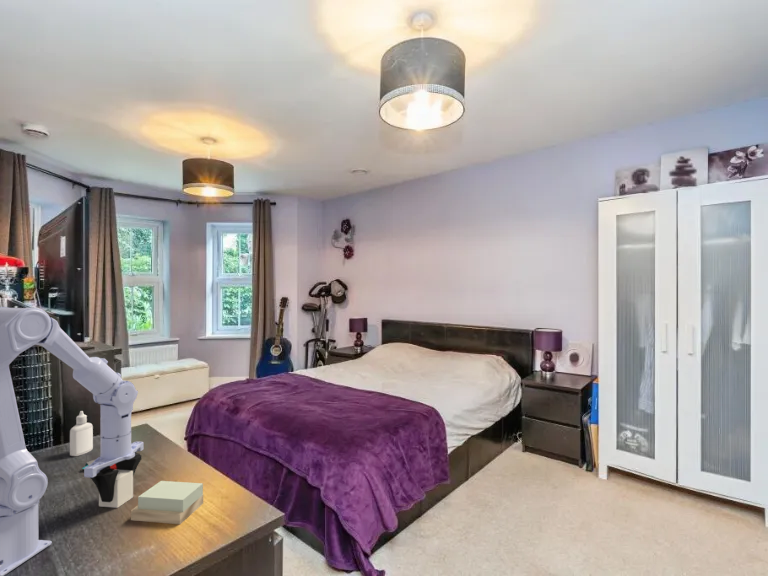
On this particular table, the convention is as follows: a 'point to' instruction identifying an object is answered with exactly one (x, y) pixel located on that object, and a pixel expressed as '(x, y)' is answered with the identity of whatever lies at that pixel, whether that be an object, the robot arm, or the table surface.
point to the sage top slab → (170, 496)
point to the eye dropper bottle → (81, 436)
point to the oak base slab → (165, 514)
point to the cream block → (120, 489)
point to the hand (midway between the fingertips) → (116, 495)
